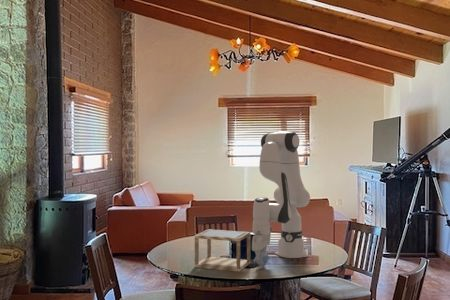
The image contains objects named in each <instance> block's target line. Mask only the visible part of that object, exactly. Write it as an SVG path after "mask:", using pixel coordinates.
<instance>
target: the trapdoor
mask: <svg viewBox="0 0 450 300" xmlns="http://www.w3.org/2000/svg"><path fill="white" fill-rule="evenodd" d="M217 230H218V229H213V230H209V231H207V232H205V233H203V234H200V235H207V236H220V237H234V238H238V237H240V236H241V235H243V234H245V232H246V231H242V232H231V231H232V230H227V231H217ZM231 243H232V244H233V245H234V244H235V245H236V241H231Z"/></svg>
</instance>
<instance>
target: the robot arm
mask: <svg viewBox="0 0 450 300" xmlns="http://www.w3.org/2000/svg"><path fill="white" fill-rule="evenodd" d="M299 145H300V137H299V136H298V134H297V133H296V132H294V131H277V132H268V133H265V134H263V135H262V137H261V139H260V146H261V151H260V154H259V155H260V156H259V173H260V174H261V176H262V177H263V178H264V179H266V180H269V181H271V182H273V183H275V184H276V185H277V186H278V187H276V188H275V190H274V192H273V198H274V201H275V202H276V203H274V202H270V199H269V198H268V197H263V196H262V197H261V196H260V197H257V198H255V199H254V200H253V206H252V208H253V209H252V217H253V221H252V234H254V235H253V236H252V239H251V251H252V252H254V253H255V257H256V259H260V250H262V249H263V248H264V250H265V251H266V252H267V248H268V246H269V245H270V243H271V237H272V236H271V235H272V234H271V233H272V229H273V228H272V226H271V222H272V223H273V222H274V223H278V224H279V223H280V224H281V230H280V238H279V239H278V240H277V241H278V242H277V243H278V244H277V251H275V253H274V254H275V255H277V256H278V257H282V258H287V259H299V258H308V257H309V249H308V248H306V247H305V241H304V239H303V229H302V215H300V213H299V211H298V209H297V208H304V207H307V206H308V205H309V203H310V201H311V195H310V193H309V191H308V190H307V189H306V188H305V186H304V183H303V181H302V177H301V169H300V157H299V152H298V148H299Z"/></svg>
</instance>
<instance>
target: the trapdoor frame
mask: <svg viewBox="0 0 450 300" xmlns="http://www.w3.org/2000/svg"><path fill="white" fill-rule="evenodd" d="M209 230H214V229H213V228H212V229H210V228H208V229H206V230H203V231H201V232H199V233H197V234H194V268H200V269H208V270H220V271H227V270H228V271H229V272H237V271H238V272H239V273H240V272H241V271H242V270H244V269H246V267H247V266H249V265H250V264H251V231H244V232H245V234H243V235H241V236H240V237H238V238H234V237H220V236H207V235H200V234H203V233H205V232H207V231H209ZM216 230H217V231H228V229H227V230H223V229H216ZM230 231H231V232H243V230H241V231H240V230H239V231H238V230H230ZM199 239H200V240H201V239H202V240H206V241H207V243H206V244H207V245H206V247H207V248H206V249H207V250H206V253H207V254H206V256H207V257H205V258H203V259H202V260H199V255H200V254H199V250H200V249H199V248H200V247H199V245H200V244H199V241H200V240H199ZM244 239H246V259H244V258H243V259H242V258H241V241H242V240H244ZM213 240H215V241H216V240H217V241H228V242H232V241H236V243H235V246H236V252H235V253H236V257H235V258H230V257H229V258H228V257H217V256H212V241H213ZM228 271H227V272H228Z"/></svg>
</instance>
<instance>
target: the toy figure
mask: <svg viewBox="0 0 450 300" xmlns="http://www.w3.org/2000/svg"><path fill="white" fill-rule="evenodd" d="M270 259H271V257H270V255H268V253H267V250H266V251H265V250H264V248H263V249H262V250H260V259H256V256H255V257H254V259H253V263H256V264H257V265H258V270H262V269H266V266H265V265H266V264H267V263H268V261H269V260H270Z"/></svg>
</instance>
